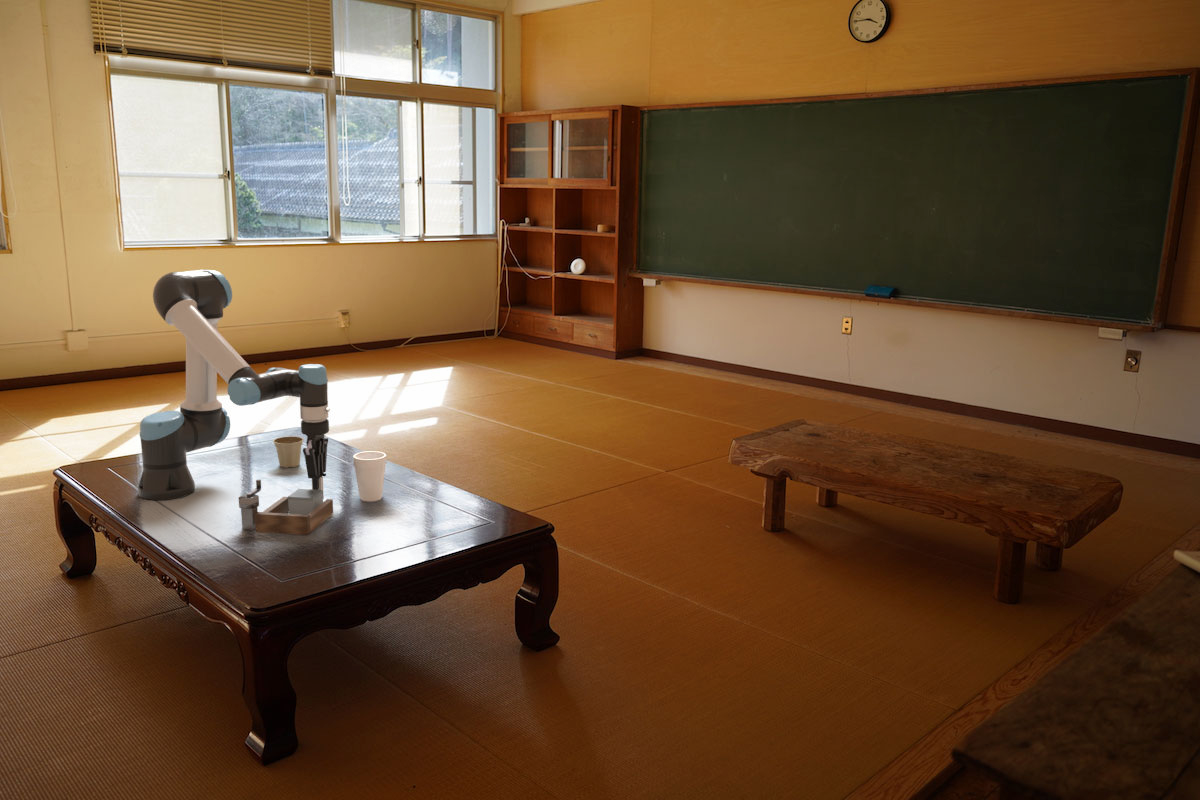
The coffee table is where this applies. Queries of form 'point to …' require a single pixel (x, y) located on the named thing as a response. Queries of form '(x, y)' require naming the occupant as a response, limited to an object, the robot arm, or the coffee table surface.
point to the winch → (249, 507)
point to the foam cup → (370, 474)
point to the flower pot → (288, 450)
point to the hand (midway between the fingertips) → (318, 499)
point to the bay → (291, 518)
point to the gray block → (304, 501)
